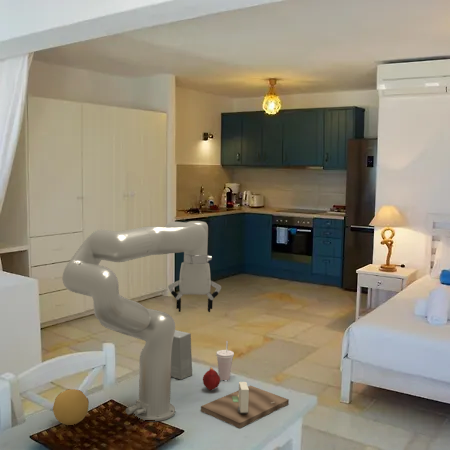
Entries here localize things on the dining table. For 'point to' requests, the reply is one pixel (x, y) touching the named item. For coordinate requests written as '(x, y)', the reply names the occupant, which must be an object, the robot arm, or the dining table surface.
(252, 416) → the wooden cutting board
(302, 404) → the dining table surface
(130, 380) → the dining table surface
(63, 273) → the robot arm
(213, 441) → the dining table surface
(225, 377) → the smoothie
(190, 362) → the skincare box
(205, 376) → the onion
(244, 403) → the cheese with knife
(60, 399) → the stress ball
